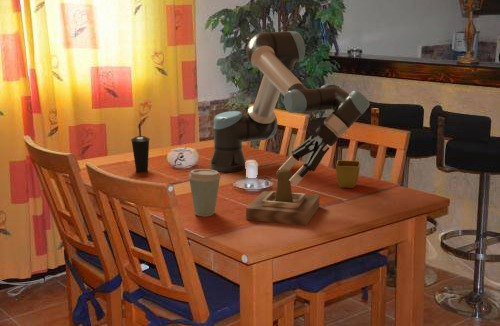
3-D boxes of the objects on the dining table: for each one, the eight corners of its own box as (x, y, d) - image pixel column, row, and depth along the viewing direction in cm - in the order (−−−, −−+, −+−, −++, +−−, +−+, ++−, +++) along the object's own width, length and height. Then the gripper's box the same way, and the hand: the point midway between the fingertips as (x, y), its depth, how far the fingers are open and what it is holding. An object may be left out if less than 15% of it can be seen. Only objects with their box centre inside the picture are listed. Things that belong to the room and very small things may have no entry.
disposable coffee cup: (201, 207, 233) (200, 165, 230) (227, 211, 228) (226, 168, 224) (183, 215, 225) (181, 172, 221) (210, 220, 219) (209, 176, 216)
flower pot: (358, 190, 252) (359, 166, 250) (335, 188, 254) (335, 165, 251) (359, 183, 260) (360, 161, 258) (336, 182, 262) (337, 160, 260)
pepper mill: (283, 197, 230) (283, 166, 227) (296, 201, 225) (296, 169, 223) (271, 201, 226) (271, 169, 223) (284, 205, 221) (284, 173, 219)
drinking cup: (141, 167, 287) (139, 121, 282) (154, 170, 282) (152, 123, 277) (128, 171, 281) (126, 124, 276) (142, 174, 276) (139, 126, 271)
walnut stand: (246, 219, 220) (246, 203, 219) (263, 201, 238) (263, 187, 237) (306, 225, 214) (306, 208, 213) (319, 206, 233) (319, 191, 231)
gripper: (351, 146, 211) (305, 195, 212) (326, 130, 235) (284, 175, 236) (335, 130, 209) (288, 180, 210) (312, 116, 233) (269, 161, 234)
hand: (286, 177), depth 223 cm, fingers open, 13 cm apart
